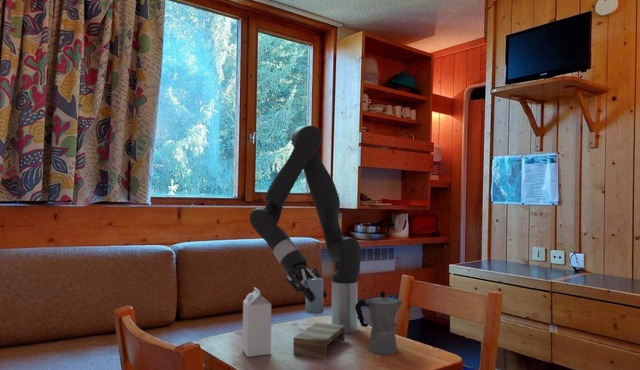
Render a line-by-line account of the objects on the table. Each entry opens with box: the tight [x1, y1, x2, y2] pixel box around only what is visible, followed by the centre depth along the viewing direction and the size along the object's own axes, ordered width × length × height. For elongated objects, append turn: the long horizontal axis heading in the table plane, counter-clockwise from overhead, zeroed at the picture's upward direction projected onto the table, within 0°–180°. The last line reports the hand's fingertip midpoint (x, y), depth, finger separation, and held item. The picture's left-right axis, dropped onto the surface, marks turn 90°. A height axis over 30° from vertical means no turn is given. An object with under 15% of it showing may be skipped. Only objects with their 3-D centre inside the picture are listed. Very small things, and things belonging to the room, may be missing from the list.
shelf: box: [292, 322, 346, 360], centre depth 144 cm, size 19×10×5 cm, turn 159°
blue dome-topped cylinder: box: [305, 277, 325, 315], centre depth 141 cm, size 6×6×10 cm
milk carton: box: [242, 287, 272, 358], centre depth 139 cm, size 7×7×19 cm
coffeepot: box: [355, 290, 404, 355], centre depth 142 cm, size 15×9×18 cm, turn 101°
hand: (319, 298), depth 140 cm, fingers closed on blue dome-topped cylinder, 5 cm apart
